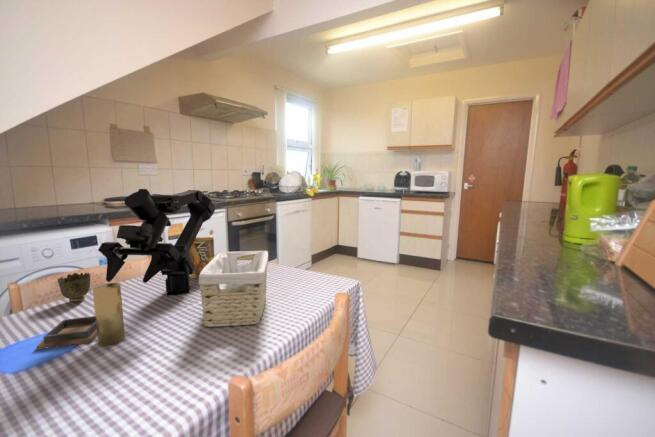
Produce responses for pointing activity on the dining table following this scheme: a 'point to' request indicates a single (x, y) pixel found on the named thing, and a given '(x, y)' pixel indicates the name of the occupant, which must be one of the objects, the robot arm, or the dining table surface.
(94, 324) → the square brown tray
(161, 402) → the dining table surface
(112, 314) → the billet
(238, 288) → the storage basket
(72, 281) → the cup
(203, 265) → the candy box
